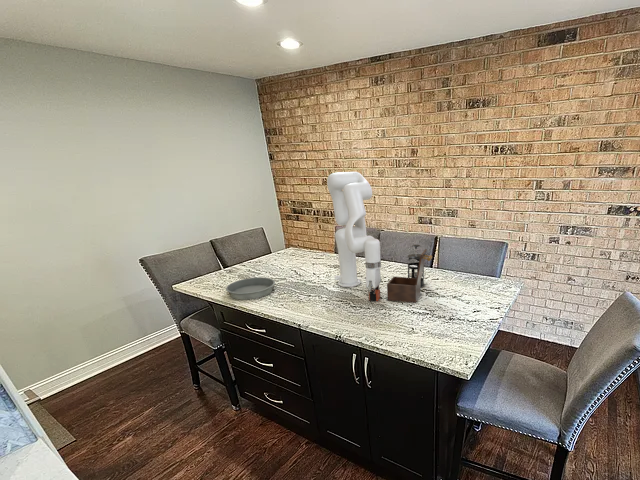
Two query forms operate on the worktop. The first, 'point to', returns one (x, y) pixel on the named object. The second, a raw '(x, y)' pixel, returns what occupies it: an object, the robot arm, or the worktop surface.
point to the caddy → (403, 289)
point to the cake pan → (250, 288)
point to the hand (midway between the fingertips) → (374, 298)
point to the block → (376, 294)
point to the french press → (414, 274)
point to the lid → (422, 265)
